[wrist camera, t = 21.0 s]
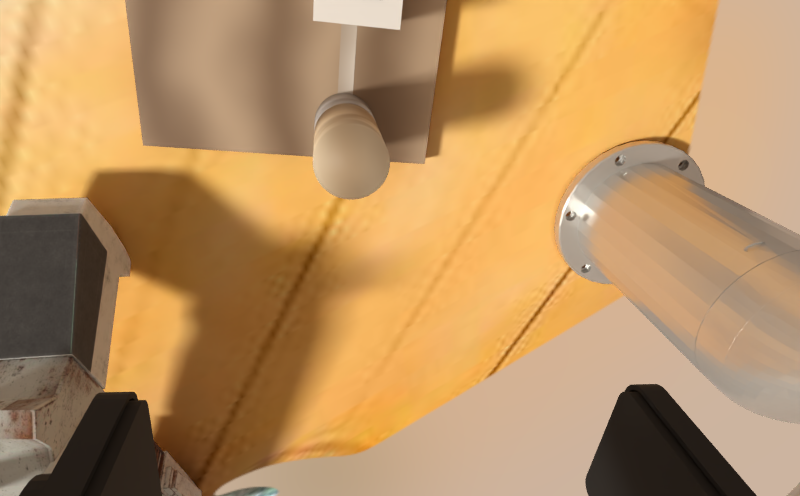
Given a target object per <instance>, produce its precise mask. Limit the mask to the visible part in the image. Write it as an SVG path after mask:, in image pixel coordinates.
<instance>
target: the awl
mask: <svg viewBox="0 0 800 496" xmlns="http://www.w3.org/2000/svg"><path fill="white" fill-rule="evenodd" d="M389 167H390V158H389V153H388V150H387V147H386V145H385V142H384V140H383V138H382V135H381V133H380V131H379V128H378V126H377V124H376V121H375V119H374V117H373V114H372V112H371V110H370V108H369V106H368V105H367V104H366V103H365V101H363V100H362V99H361V98H359V97H358V96H356V95H353V94H350V93H337V94H334V95H331V96H329V97H328V98H326V99H325V100H324V101H323V102H322V103H321V104H320V106H319V107H318V109H317V112H316V115H315V124H314V147H313V168H314V173H315V176H316V178H317V180H318V181H319V183H320V184H321V186H322V187H323V188H324V189H325V190H326V191H328V192H329V193H331V194H332V195H334V196H337V197H339V198H343V199H360V198H363V197H366V196H368V195H370V194H372V193H374V192H375V191H376V190H377V189H378V188H380V186H381V185H382V184H383V183H384V181H385V179H386V177H387V175H388V172H389Z"/></svg>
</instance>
